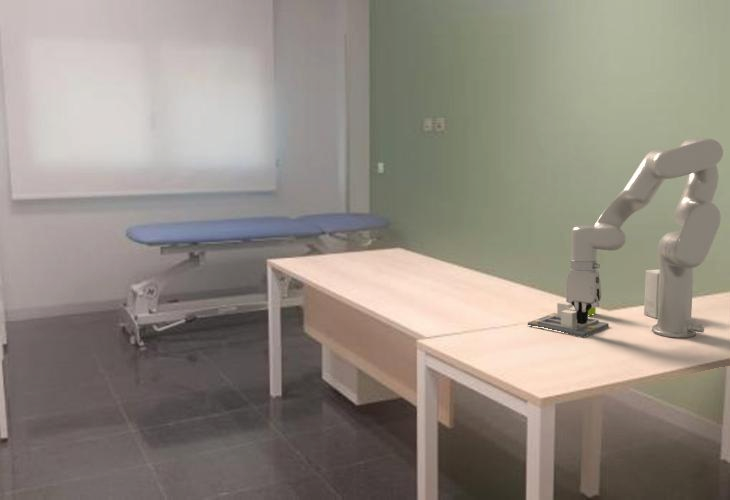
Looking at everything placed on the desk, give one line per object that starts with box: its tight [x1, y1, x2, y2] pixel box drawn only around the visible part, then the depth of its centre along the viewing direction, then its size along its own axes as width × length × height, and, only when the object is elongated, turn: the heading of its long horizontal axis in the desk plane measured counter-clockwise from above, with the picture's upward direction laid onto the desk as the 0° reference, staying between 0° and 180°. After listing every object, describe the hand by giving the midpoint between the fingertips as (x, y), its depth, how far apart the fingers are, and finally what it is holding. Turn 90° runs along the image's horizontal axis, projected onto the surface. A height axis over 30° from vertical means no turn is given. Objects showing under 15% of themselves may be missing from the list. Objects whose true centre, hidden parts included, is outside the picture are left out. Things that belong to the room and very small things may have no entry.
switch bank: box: [527, 312, 610, 338], centre depth 223 cm, size 20×16×2 cm
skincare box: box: [643, 269, 659, 319], centre depth 232 cm, size 8×7×16 cm
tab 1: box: [556, 301, 574, 317], centre depth 228 cm, size 4×3×5 cm
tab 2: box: [561, 310, 577, 328], centre depth 218 cm, size 4×3×5 cm
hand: (581, 323), depth 214 cm, fingers closed
